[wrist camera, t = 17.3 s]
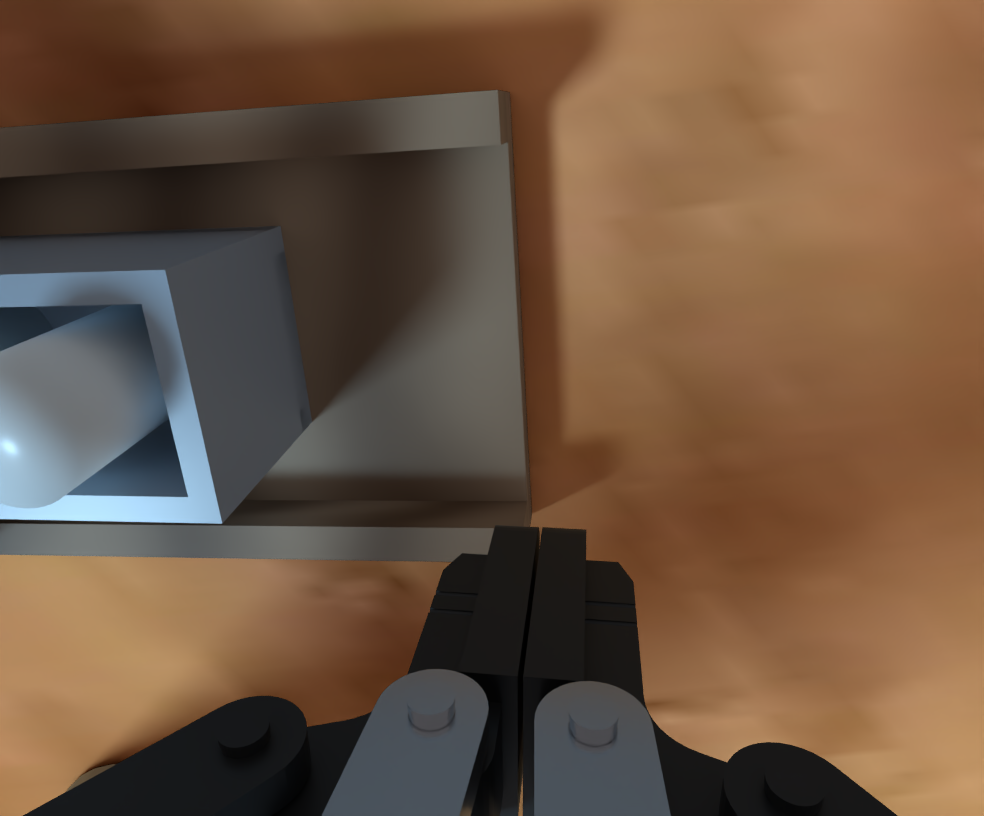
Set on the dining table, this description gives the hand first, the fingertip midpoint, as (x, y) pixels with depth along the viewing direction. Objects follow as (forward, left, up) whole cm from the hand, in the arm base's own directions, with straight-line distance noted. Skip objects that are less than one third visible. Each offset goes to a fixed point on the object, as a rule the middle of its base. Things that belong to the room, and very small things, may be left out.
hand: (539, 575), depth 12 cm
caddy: (+7, +12, -10) cm, 17 cm away
